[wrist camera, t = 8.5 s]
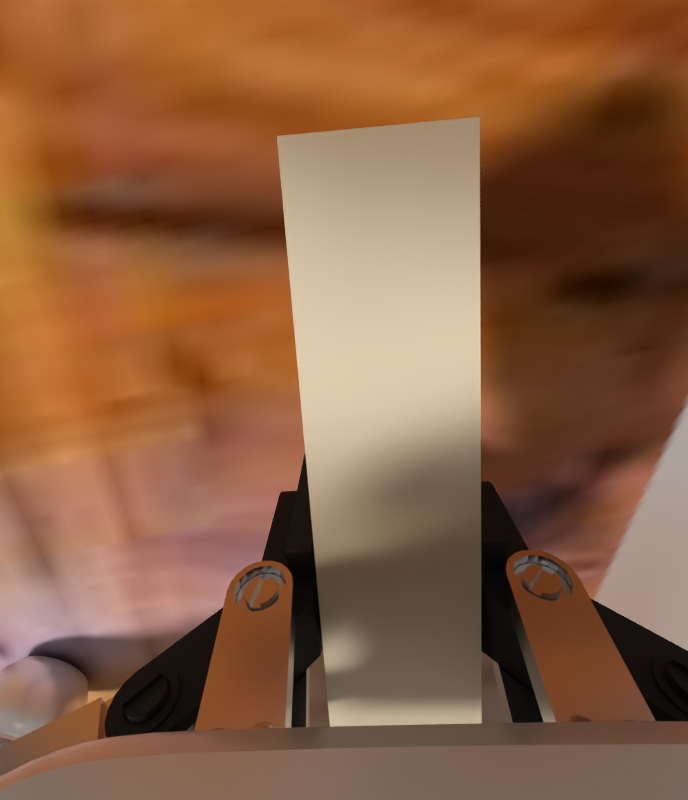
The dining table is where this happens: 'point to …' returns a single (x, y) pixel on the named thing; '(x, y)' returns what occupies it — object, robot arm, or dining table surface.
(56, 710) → the plastic bottle
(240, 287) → the dining table surface
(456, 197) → the cream upright plaque
